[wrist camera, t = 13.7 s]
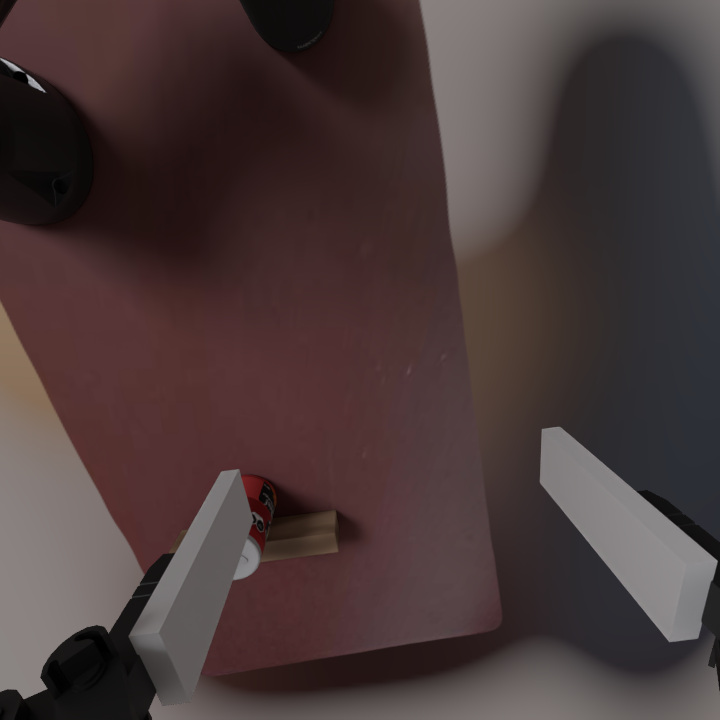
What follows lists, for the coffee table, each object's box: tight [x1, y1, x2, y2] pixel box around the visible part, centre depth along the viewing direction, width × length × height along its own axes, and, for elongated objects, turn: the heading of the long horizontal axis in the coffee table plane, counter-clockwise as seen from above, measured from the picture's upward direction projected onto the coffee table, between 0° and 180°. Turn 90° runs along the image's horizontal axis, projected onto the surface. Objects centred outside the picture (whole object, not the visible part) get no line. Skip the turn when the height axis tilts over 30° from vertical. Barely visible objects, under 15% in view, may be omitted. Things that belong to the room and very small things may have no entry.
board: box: [169, 510, 339, 562], centre depth 52 cm, size 4×24×4 cm, turn 98°
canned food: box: [233, 475, 277, 580], centre depth 47 cm, size 8×8×11 cm
